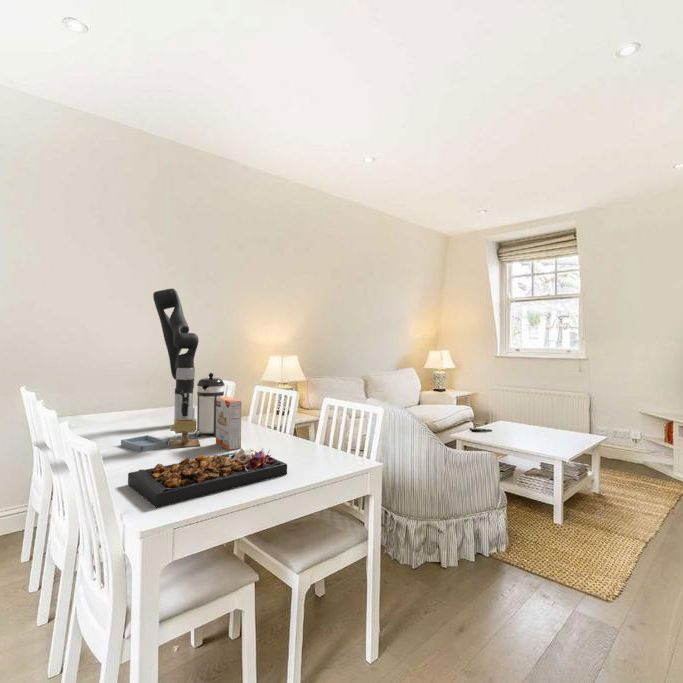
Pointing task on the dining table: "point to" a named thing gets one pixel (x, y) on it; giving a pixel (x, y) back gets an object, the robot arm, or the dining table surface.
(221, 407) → the cracker box
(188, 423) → the gold rectangular hollow block
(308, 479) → the dining table surface
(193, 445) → the brown piece
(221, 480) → the food platter
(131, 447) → the tray
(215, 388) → the coffee press
